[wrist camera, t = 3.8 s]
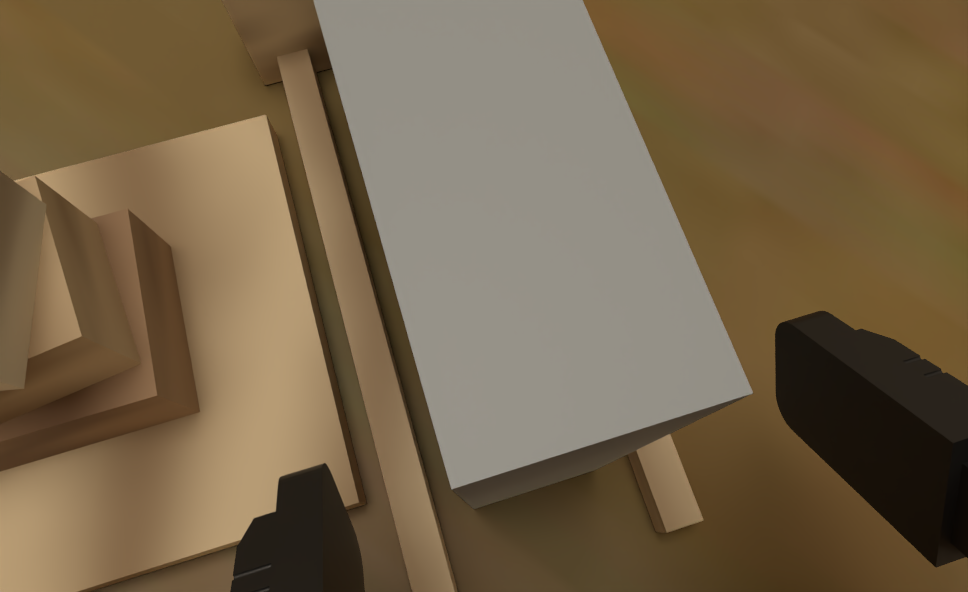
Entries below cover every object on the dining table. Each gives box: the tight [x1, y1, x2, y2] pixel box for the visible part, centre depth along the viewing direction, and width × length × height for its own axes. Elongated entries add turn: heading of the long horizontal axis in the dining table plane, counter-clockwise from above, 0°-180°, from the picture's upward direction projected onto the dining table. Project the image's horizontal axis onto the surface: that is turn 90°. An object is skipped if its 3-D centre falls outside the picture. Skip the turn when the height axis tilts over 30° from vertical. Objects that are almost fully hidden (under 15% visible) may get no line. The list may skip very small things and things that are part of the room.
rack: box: [0, 0, 703, 592], centre depth 19 cm, size 19×19×4 cm
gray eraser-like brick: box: [313, 0, 753, 509], centre depth 15 cm, size 4×14×12 cm, turn 17°
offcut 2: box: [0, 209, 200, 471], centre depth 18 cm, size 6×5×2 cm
